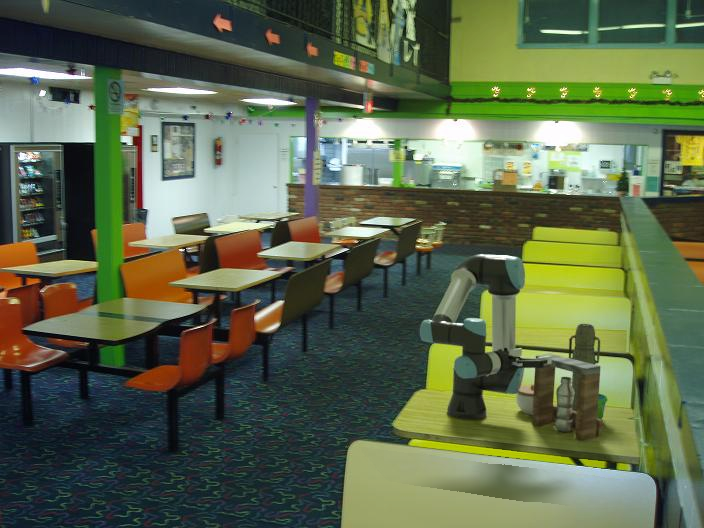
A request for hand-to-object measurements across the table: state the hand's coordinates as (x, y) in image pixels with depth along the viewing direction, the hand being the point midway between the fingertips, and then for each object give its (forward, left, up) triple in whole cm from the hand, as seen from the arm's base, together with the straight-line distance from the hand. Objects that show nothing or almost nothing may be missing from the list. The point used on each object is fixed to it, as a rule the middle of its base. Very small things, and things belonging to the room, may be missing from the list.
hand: (535, 355), depth 285 cm
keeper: (-5, +18, -30) cm, 35 cm away
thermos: (-27, +37, -30) cm, 55 cm away
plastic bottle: (-5, +16, -30) cm, 34 cm away
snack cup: (-13, +33, -30) cm, 46 cm away
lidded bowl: (-29, +16, -30) cm, 45 cm away
